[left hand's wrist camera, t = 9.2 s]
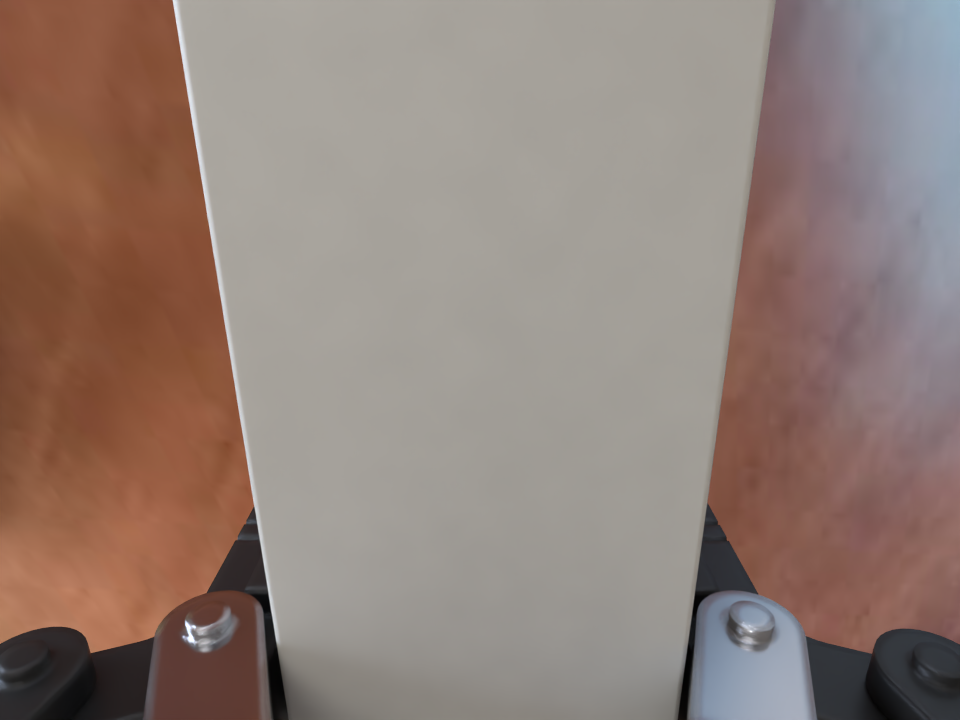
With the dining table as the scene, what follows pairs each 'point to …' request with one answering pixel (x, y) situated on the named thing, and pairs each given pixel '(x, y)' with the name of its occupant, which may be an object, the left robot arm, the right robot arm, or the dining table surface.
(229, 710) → the left robot arm
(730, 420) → the dining table surface
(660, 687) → the bar
